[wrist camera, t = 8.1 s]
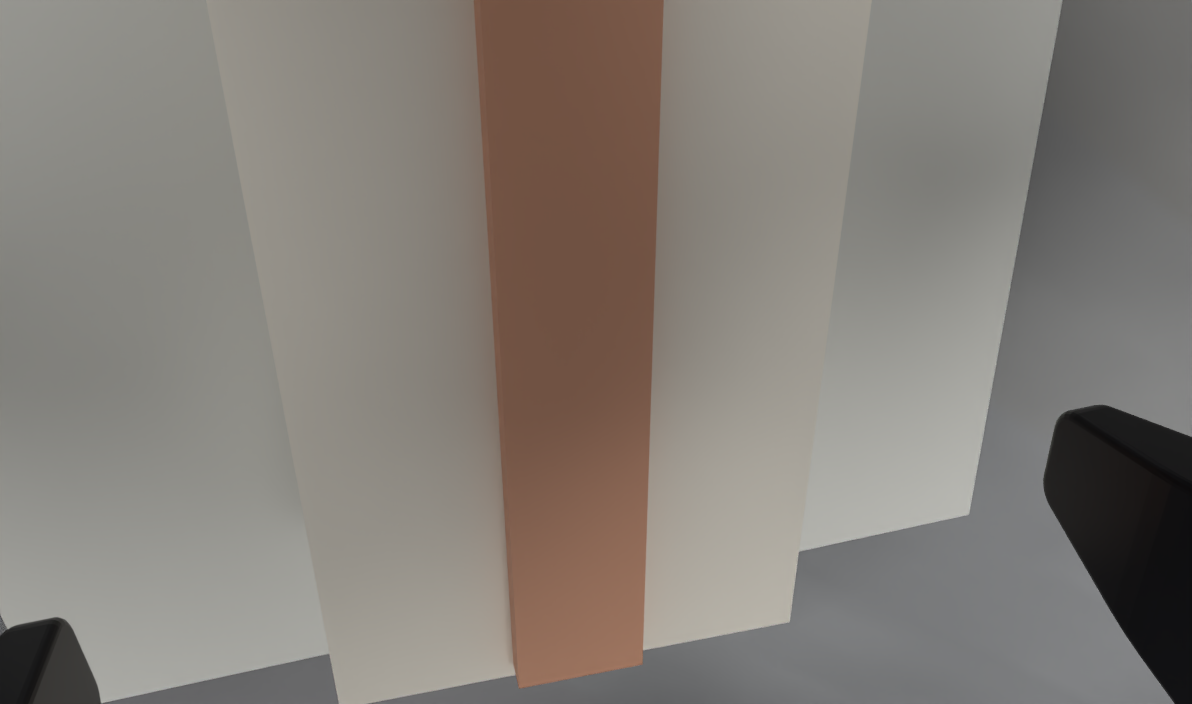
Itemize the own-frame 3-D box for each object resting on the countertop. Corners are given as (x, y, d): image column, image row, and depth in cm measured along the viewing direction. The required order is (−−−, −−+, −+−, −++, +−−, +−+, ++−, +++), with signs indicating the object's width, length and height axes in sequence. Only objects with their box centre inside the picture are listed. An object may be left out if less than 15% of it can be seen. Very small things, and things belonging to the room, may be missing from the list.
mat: (1116, -414, 13) (1138, -417, 12) (957, 501, 20) (969, 514, 20) (-443, -341, 10) (-468, -341, 9) (53, 694, 17) (49, 714, 17)
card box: (704, 463, 18) (801, 643, 14) (329, 522, 16) (340, 734, 13) (743, -136, 13) (903, -73, 9) (218, -116, 12) (193, -37, 8)
